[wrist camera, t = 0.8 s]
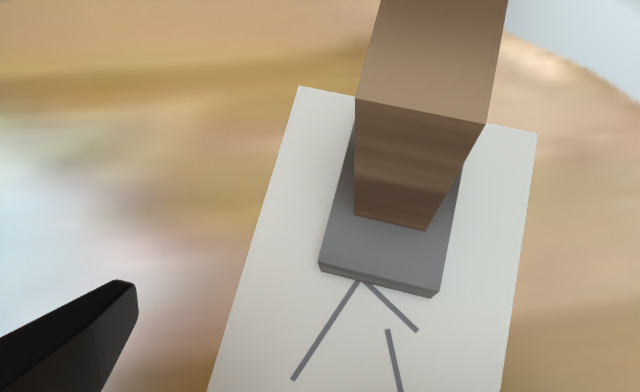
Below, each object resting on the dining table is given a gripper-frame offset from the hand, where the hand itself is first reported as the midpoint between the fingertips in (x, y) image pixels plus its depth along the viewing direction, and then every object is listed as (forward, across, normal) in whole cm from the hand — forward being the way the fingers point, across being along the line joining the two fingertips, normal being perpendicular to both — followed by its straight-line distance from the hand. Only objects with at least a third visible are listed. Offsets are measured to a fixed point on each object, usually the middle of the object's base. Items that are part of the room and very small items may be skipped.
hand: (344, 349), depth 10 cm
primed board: (+10, 0, +10) cm, 14 cm away
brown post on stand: (+14, 0, +5) cm, 15 cm away
